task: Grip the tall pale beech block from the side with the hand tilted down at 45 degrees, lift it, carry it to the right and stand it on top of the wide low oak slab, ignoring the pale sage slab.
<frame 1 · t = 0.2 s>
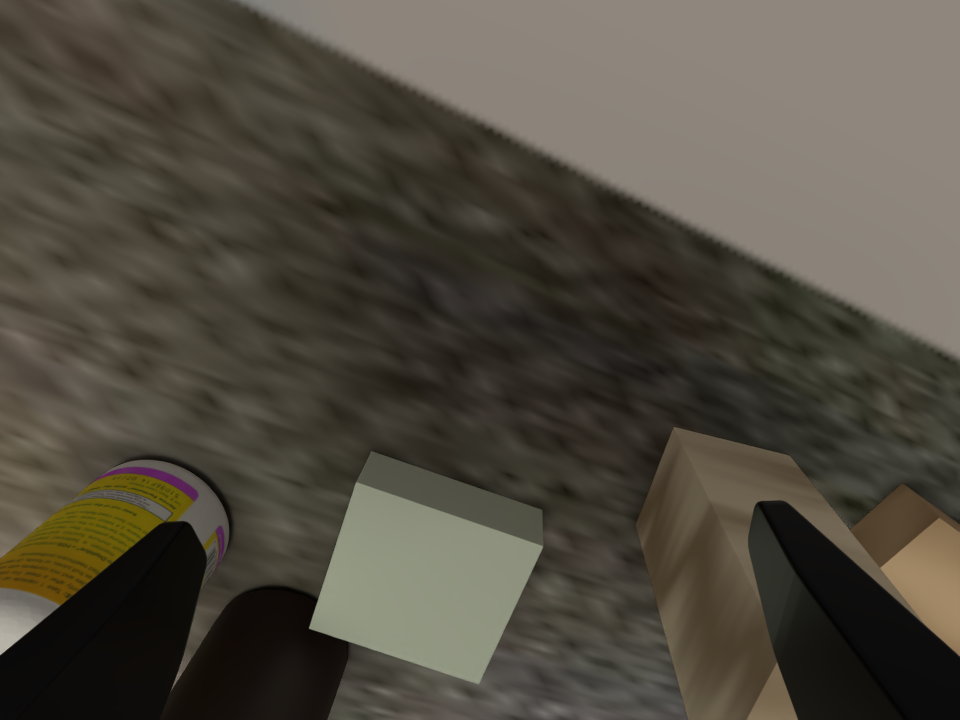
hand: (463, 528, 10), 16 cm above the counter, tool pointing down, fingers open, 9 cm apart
supplement bottle: (168, 514, 30), on the counter
oak block: (890, 633, 29), on the counter
beech post: (710, 491, 27), on the counter
sage block: (431, 545, 30), on the counter
vinegar: (285, 636, 32), on the counter
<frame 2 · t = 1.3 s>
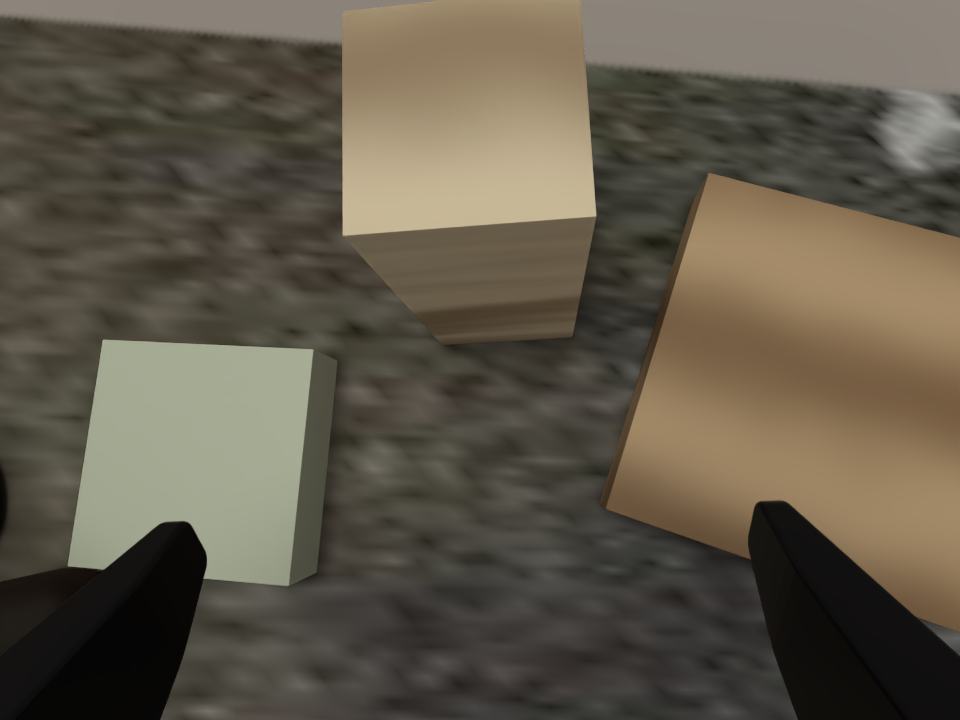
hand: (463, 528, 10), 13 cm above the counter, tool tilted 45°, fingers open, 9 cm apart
oak block: (805, 399, 23), on the counter
beech post: (503, 278, 24), on the counter
sage block: (233, 457, 25), on the counter
vinegar: (75, 656, 24), on the counter
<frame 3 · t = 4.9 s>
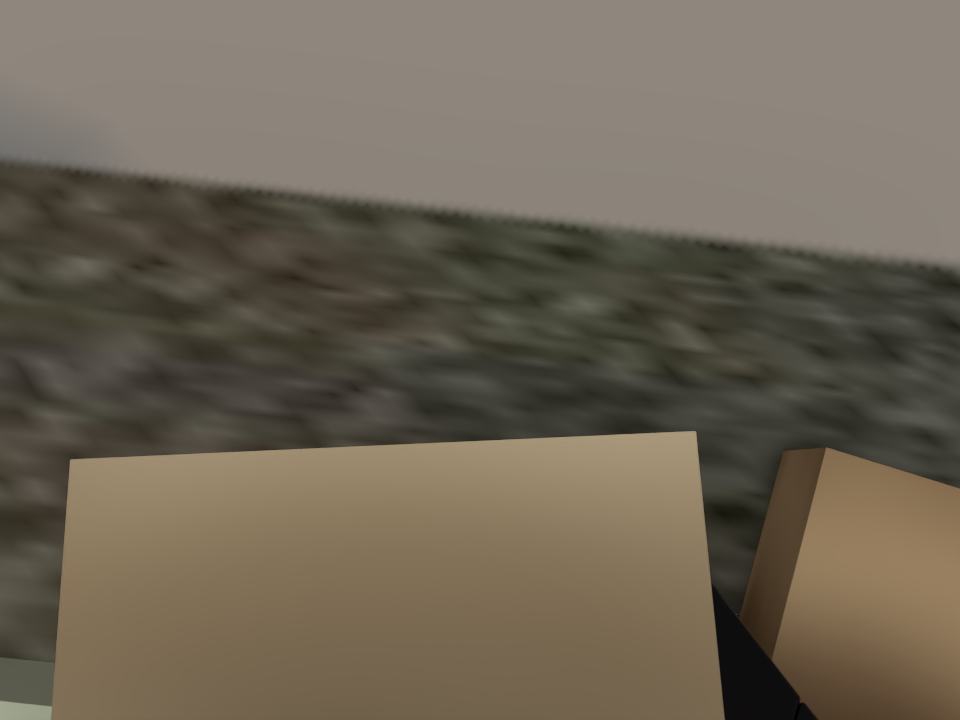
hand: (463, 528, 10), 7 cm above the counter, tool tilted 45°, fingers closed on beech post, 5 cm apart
beech post: (498, 561, 16), on the counter, touching gripper
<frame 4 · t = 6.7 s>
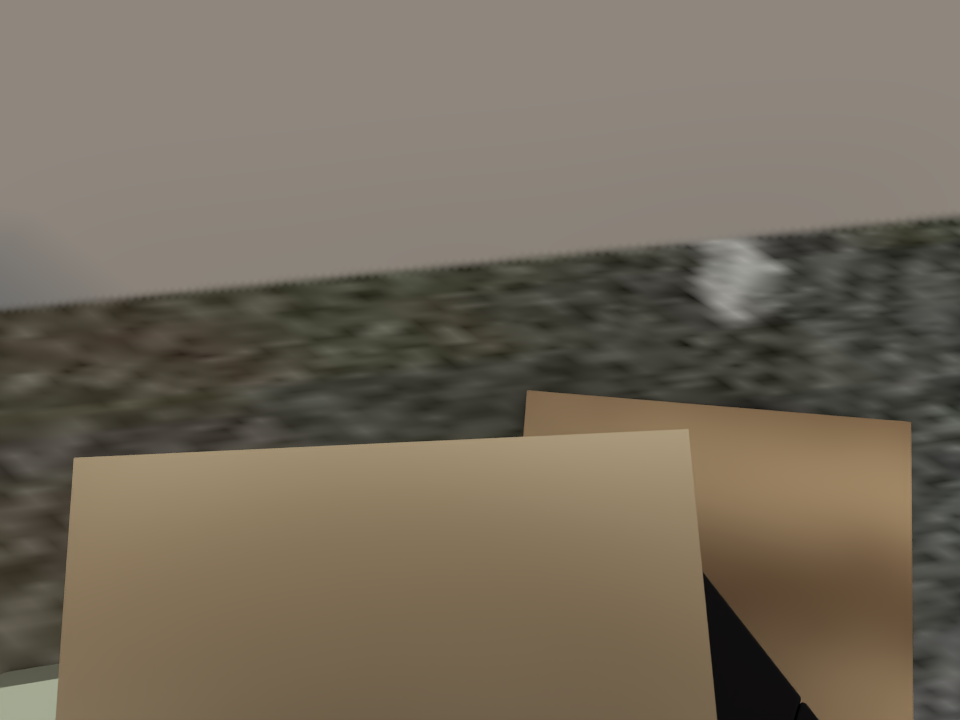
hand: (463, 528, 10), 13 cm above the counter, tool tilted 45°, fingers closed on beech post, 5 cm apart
oak block: (684, 580, 22), on the counter
beech post: (498, 558, 16), point 7 cm above the counter, touching gripper
when the fingers open (10 cm above the counter, at t = 8.8 s): beech post stays where it is, resting on oak block.
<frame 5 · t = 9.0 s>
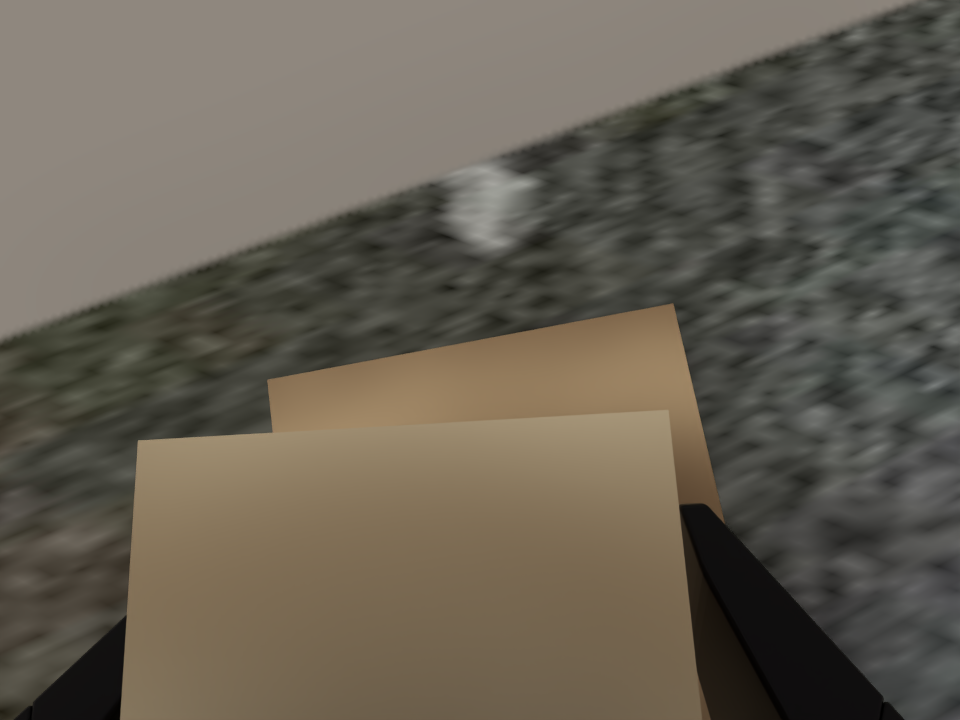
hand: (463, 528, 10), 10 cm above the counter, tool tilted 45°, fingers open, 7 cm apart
oak block: (507, 542, 20), on the counter, touching beech post
beech post: (500, 561, 17), point 2 cm above the counter, touching oak block
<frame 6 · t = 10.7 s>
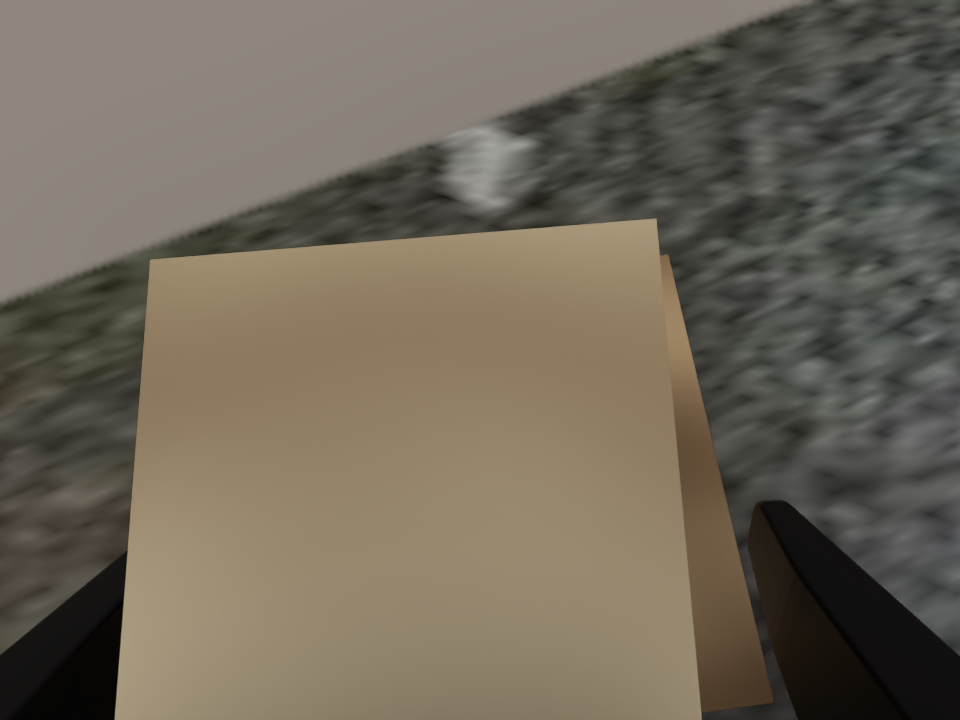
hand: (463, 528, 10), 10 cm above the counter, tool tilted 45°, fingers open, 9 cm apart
oak block: (505, 496, 20), on the counter
beech post: (509, 491, 17), point 3 cm above the counter
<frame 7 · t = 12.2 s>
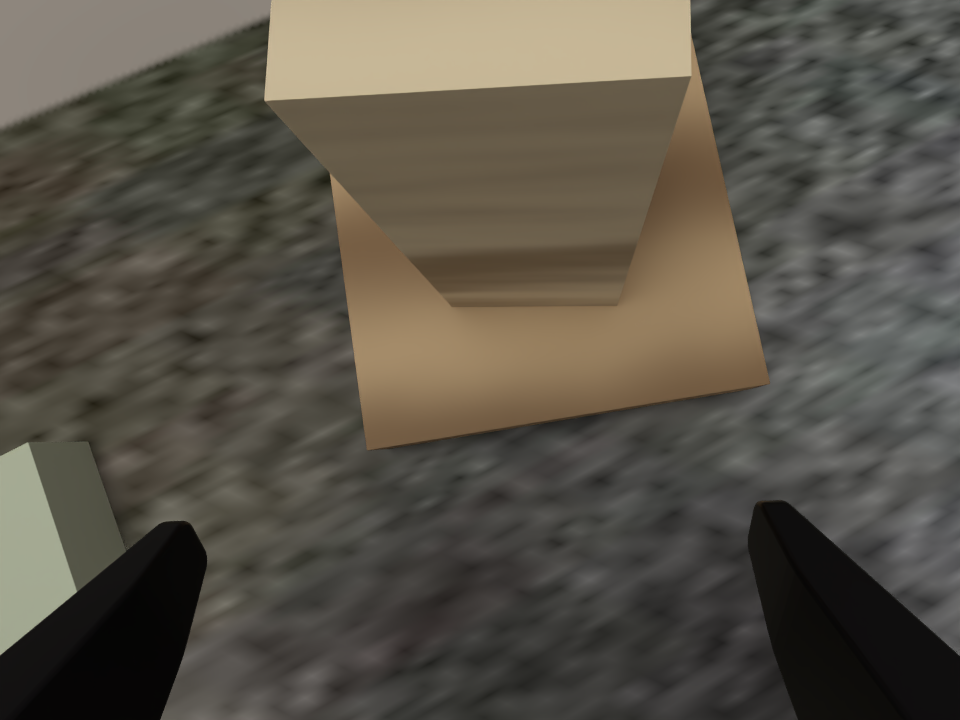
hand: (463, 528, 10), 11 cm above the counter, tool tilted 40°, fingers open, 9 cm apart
oak block: (532, 253, 22), on the counter
beech post: (533, 226, 19), point 2 cm above the counter
sage block: (38, 586, 23), on the counter
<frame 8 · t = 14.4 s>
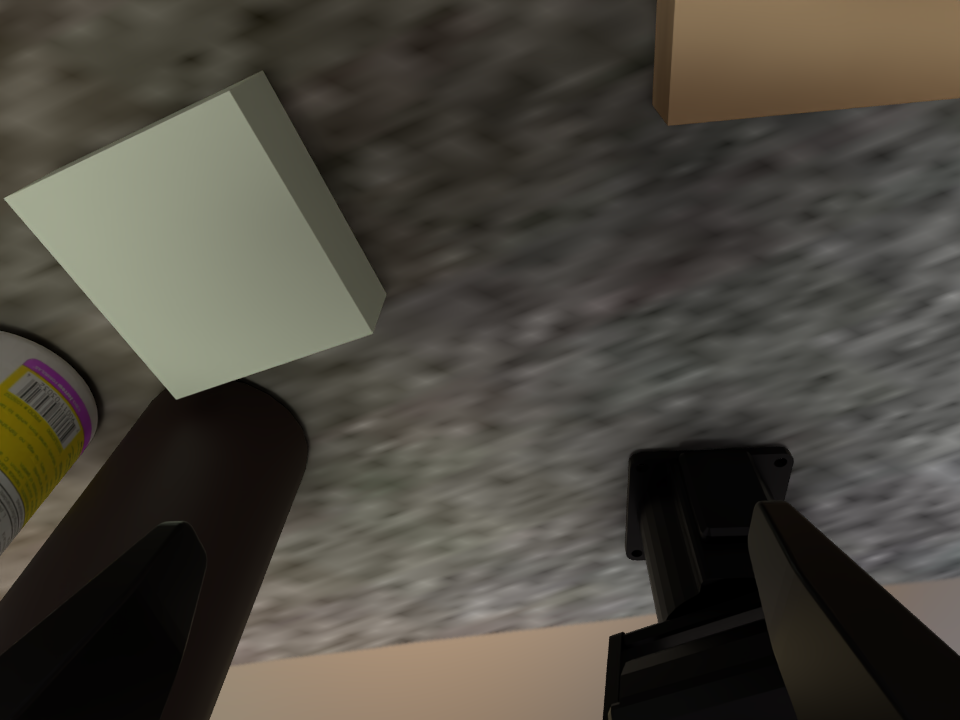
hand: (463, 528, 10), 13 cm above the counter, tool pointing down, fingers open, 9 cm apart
supplement bottle: (26, 386, 26), on the counter
sage block: (234, 230, 22), on the counter
vinegar: (233, 432, 27), on the counter
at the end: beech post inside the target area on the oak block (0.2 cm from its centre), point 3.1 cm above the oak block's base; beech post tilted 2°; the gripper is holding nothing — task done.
